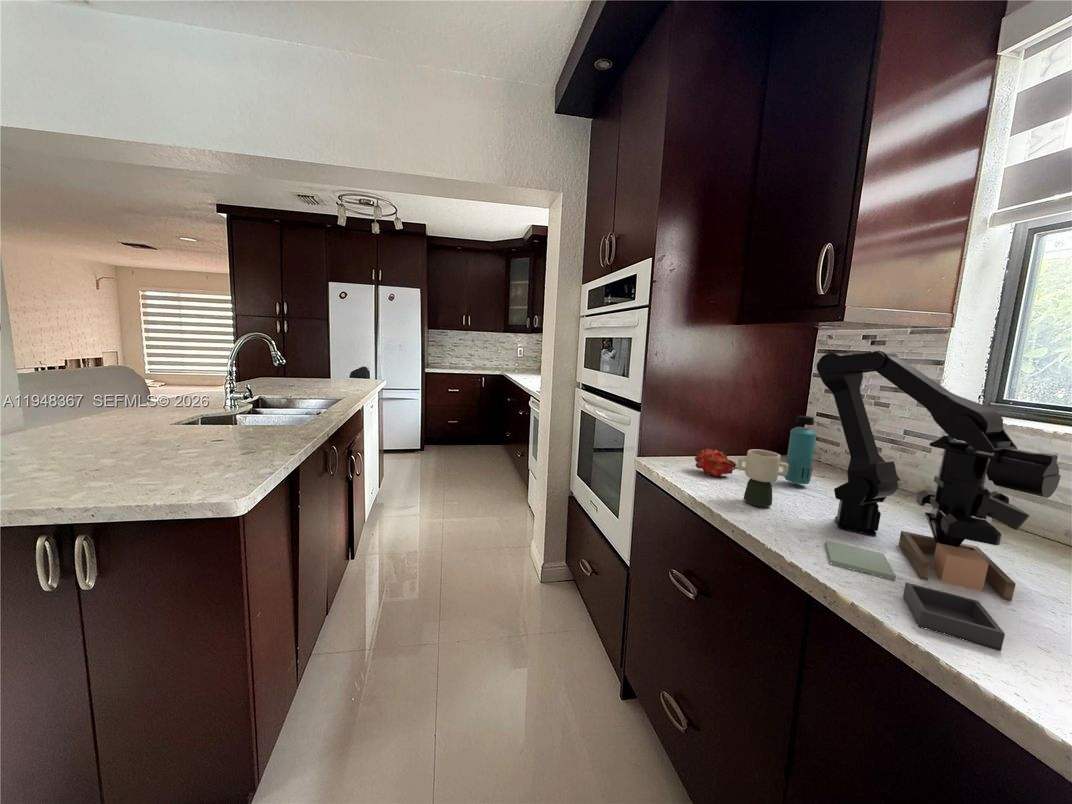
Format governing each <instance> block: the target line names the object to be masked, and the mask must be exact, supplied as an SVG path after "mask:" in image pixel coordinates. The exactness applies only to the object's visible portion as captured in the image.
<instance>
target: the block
mask: <svg viewBox="0 0 1072 804" xmlns="http://www.w3.org/2000/svg"><path fill="white" fill-rule="evenodd" d="M988 565H989V564H988V563H987V562H986V561H985V560H984V559H983V558H982V557H981V556H980V555H979V554H978V553H977V552H976V551H974V550H969V549H964V548H959V547H955V546H950V545H945V544H940V543H937V545H936V550H935V555H933V560H932V564H931V569H932V570H934V571H933V572H934V573H935V575H936V574H937V575H936V576H937V577H939V578H938V579H939V580H940V582H941V581H942V582H941V583H946V584H949V583H950V585H954V586H957V585H958V586H959V587H961V586H962V587H963V588H965V589H966V588H967V589H970V590H974V591H977V592H983V589H984V586H985V582H986V580H985V578H986V574H987V569H988ZM958 586H957V587H958Z"/></svg>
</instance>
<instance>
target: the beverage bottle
mask: <svg viewBox="0 0 1072 804" xmlns="http://www.w3.org/2000/svg"><path fill="white" fill-rule="evenodd" d="M814 422H815V419H814V417H813V416H808V415H798V416H797V417H796V420H795V423H796V424H798V425H804V426H805V427H802V426H796V427H794V428H791V430H790V431H789V432H790V435H789V441H788V447H787V448H788V449H787V453H786V458H785V459H786V460H785V463H787V464H788V473H787V476H783V478H784V479H785V480H786V481H787V482H791V483H794V484H799V485H808V484H810V482H811V480H812V474H813V473H812V472H813V463H814V456H815V454H816V453H815V451H816V443H817V440H816V439H817V435H818V434H817V432H816V431H815V430H814V429H813V428H809V427H806V426H814V424H815V423H814Z"/></svg>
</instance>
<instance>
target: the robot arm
mask: <svg viewBox="0 0 1072 804" xmlns="http://www.w3.org/2000/svg"><path fill="white" fill-rule="evenodd" d="M816 371H817V373H818V376H819V378H820V379H821V382H822V383H823V385H824V386H825V387H826V388H827V389H828V390H829V391H830V392H831V394H832V395H833V398H834V403H835V405H836V409H837V413H838V415H839V417H838V418H839V420H840V423H841V427H842V431H843V435H844V438H845V441H846V445H847V449H848V452H849V457H850V459H849V461H848V462H849V463H848V467H847V471H846V472H847V482H845V483H843V484H841V485H839V486H836V487H835V488H834V489H833V490H834V491H833V492H834V496H835V499H837V500H838V501H839V502H838V508H837V513H836V514H837V515H836V516H835V517H834V520H835V522H836V524H837V527H838V528H839V529H841V530H846V531H850V532H855V533H860V534H863V535H869V536H874V537H875V536H877V532H878V530H879V527H880V526H879V525H880V521H881V515H882V513H881V512H880V510H879V506H880V505H879V504H878V503H884V501H885V500H886V499H887V497H891V496H893V495H894V494H895V493H896V492H897V490H898V489H899V482H901V478H900V476H898V473H897V470H896V469H897V468H896V464H895V462H894V461H886V460H885V459H884V458H883V457H882V456H881V455H880V453H879V451H878V446H877V444H876V440H875V437H874V434H873V431H872V428H871V424H870V420H869V417H868V413H867V411H866V407H865V404H864V400H863V396H862V394H861V386H862V383H863V379H864V378H863V377H864V374H866V373H873V372H876V373H878V374H879V375H881V376H882V377H883V378H885V379H886V380H887V381H889V382H890V383H891V384H893V385H894V386H895V387H897V388H898V389H899V390H901V391H902V392H904V393H905V394H907V395H908V396H909V397H910V398H912V399H914V401H916V402H917V403H919V404H920V405H921V406H923V407H924V408H925V409H926V410H927V411H928V412H929V414H930V415H931V417H932V419H933V421H934V422H935V423H936V424H937V425H938V427H940V428H941V430H942V431H943V432H944V433H945V434H946V435H942V436H941V437H940V438H938V439H936V440H935V441H931V442H929V446H930V447H933V448H935V449H936V448H937V449H941V450H943V455H942V458H941V459H942V460H941V463H940V465H941V468H940V473H939V476H937V475H935V476H934V478H933V482H934V483H935V484H936V483H937V488H936V491H935V490H929V489H922V490H920V491H918V492H917V493H916V498H915V502H916V503H917V504H918V505H919V506H921V507H924V506H925V505H926V504H929V506H930V508H931V507H932V510H931V509H930V511H931V513H930V512H927V511H926V512H925V511H924V515H925V517H926V520H927V523H928V526H929V528H930V531H931V533H932V537H934V540H935V543H936V545H937V543H940V544H945V545H950V546H955V547H959V546H960V545H961V543H964V541H965V540H967V541H971V542H972V541H973V542H976V543H983V544H986V545H991V546H1000V542H1001V538H1002V533H1001V532H1000V531H999V530H998V529H997V528H996V527H994V525H992V523H991V524H990V523H989V522H987V521H986V520H982V519H986V518H987V516H988V517H990V518H992V520H995V521H998V522H999V523H1002V524H1004V525H1007V526H1008V528H1010V529H1011V530H1015V531H1018V530H1019V528H1021V527H1022V525H1023V524H1024V523H1025V522H1026V521H1027V520H1028V519H1029V518H1030V515H1031V514H1029V513H1027V512H1026V511H1024V510H1023V509H1021V508H1018V507H1017V506H1015V505H1014V504H1011V503H1010V497H1008V496H1007V495H1005V494H1004V493H1001V492H999V491H998V492H997V491H993V492H991V493H990V491H989V490H988V489H987V488H985V487H984V484H985V479H986V475H987V477H988V480H990V481H993V483H994V485H996V486H999V488H1005V489H1009V490H1013V491H1016V492H1021V493H1025V494H1029V495H1033V496H1037V497H1041V498H1045V499H1048V498H1050V497H1051V496H1052V495H1053V494H1054V493H1055V492H1056V490H1057V488H1058V486H1059V485H1060V484H1059V483H1060V479H1061V474H1060V466H1059V464H1058V463H1057V462H1058V458H1059V456H1058V455H1057V454H1051V453H1045V452H1041V453H1040V452H1033V451H1029V450H1022V449H1018V447H1017V445H1016V444H1015V443H1014V442H1013V440H1012V439H1011V437H1010V436H1009V435H1008V434H1007V432H1006V430H1005V429H1004V419H1003V417H1002V415H1000V414H999V413H998V412H996V411H995V410H993V409H991V408H990V407H987V406H984V405H982V404H980V403H978V402H976V401H973V400H972V399H971V400H970V399H967V398H965V397H962V396H960V395H957V394H955V393H952V391H949V390H948V389H947V388H945V387H944V386H942V385H940V383H938V382H936V381H934V380H933V379H932V378H931V377H928V375H925V373H923V372H921V371H920V370H919V369H917V368H915V367H913V366H912V365H911V364H910V363H908V362H906V361H905V360H903V359H902V358H901V357H899V356H898V354H897V353H895V352H893V351H888V350H876V351H875V350H874V351H872V352H863V353H855V354H853V353H839V352H837V353H836V352H830V353H829V352H828V353H825V354H824V355H822V356H821V357H820V358H819V360H818V361H817V362H816ZM972 516H974V517H977V518H981V519H977V518H972Z"/></svg>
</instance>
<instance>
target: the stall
mask: <svg viewBox="0 0 1072 804" xmlns="http://www.w3.org/2000/svg"><path fill="white" fill-rule="evenodd" d="M898 546H899V548H900V549H901V550H902V553H903V554H904V556H905V558H906V559H907V561H908V562H909V564H910V566H911V567H912V568H913V570H914V571H915V573H916V574H917V576H918V578H919V577H920V578H921V579H920V578H919V579H920V580H924V579H925V580H924V581H928V580H929V576H930V570H931V568H932V564H931V562H930V561H929V559H928V558H927V556H926V555H925V554H930V555H933V556H934V555H935V550H936V543H935V540H934V537H933V536H928V535H924V534H919V533H915V532H910V531H904V530H900V535H899V540H898ZM959 548H964V549H969V550H974V551H976V552H977V553H978V554H979V555H980V556H981V557H982V558H983V559H984V560H985V561H986V562H987V563H988V564H989V565H988V569H987V574H986V578H985V582H986V583H987V584H988V585H990V587H991V588H992V589H993V591H995V592H996V593H997V594H998V595H999V596H1000V598H1001V599H1003V600H1007V601H1011V602H1012V601H1013V597H1014V592H1015V590H1016V589H1015V588H1016V584H1017V583H1016V582H1015V581H1014V580H1013V579H1012V578H1011V577H1010V576H1009V575H1008V574H1007V573H1005V572H1004V571H1003V569H1001V568H1000V567H999V566H998V565H997V564H996V563H995V562H994V561H993V560H992V559H991V558H990V557H989V556H988V555H987V554H986V553H985V552H984V551H983V550H982V549H981V548H980V547H979V546H977V545H971V544H967V543H964V542H962V543H961V545H960V546H959ZM924 553H925V554H924Z"/></svg>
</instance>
